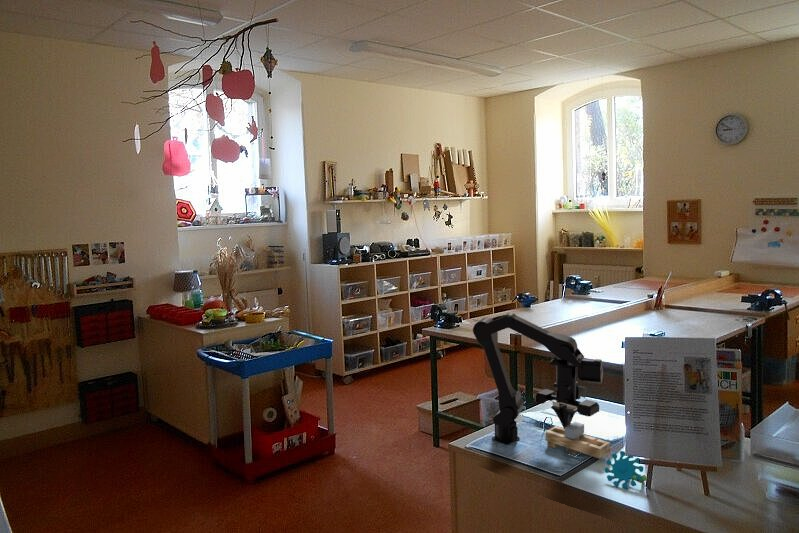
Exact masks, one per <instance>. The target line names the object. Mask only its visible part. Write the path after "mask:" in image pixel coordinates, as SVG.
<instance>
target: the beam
mask: <svg viewBox="0 0 799 533" xmlns="http://www.w3.org/2000/svg"><path fill="white" fill-rule="evenodd" d="M544 440H545V441H546V442H547V444H546V445H547V447H550V448H554V449H556V448H558V447H559V446H562V447H564V448H566V455H568V454H570V455H573V456H576V455H578V454H580V453H582V454H585V455H588V456H591V457H594V458H597V459H601V458H603V457H605V456H606V455H607V454H609V453H610V452H611V442H610V441H606V440H603V439H600V438H598V437H594V436H590V435H587V434H585V433H584V434H582V435H580V440H578V439H571V438H568V437H565V429H564V428H563V426H559V425H555V426H552V427H551V428H550V429H548V430H546V431H545V438H544ZM570 455H569V456H570ZM580 455H581V454H580ZM573 456H572V457H573Z"/></svg>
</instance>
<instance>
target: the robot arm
mask: <svg viewBox="0 0 799 533" xmlns="http://www.w3.org/2000/svg"><path fill="white" fill-rule="evenodd" d="M505 329H510V330H512V331H515V332H516V333H518V334H520V335H522V336H524V337H526V338H529V339H530V340H532V341H534V342H536V343H538V344H540V345H543V347H545V348H546V349H547V350H548V351H549V352H550V353H551V354H552V355H553V356H554V357H553V358H552V359H551V360H550V361H549V366H555V368H556V370H555V372H556V375H555V377H556V381H555V382H554V383H553V387H554V388H556V391H555V390H551V389H547V388H544V389H542V390H539V391H538V392H536V393H535V396H534V401H535V403H538V404H542V405H543V404H545V403H546V402H547V401H549V402H551V403H552V406H551V407H550V408H551V410H553V411H554V413H555V414H556V416H557V417H558V420H559V421H560V423H561V425H562V426H561V427H562V428H564V429H565V427H567V426H568V425H570V424H572V420H573V418H574V416H575V414H576V413H578V414H579V415H581V416H585V417H592V416H594V415H596V414H597V413H598V412H600V405H599V403H598V402H597V401H594V400H591V399H590V400H589V399H585V398H586V397H587V396H586V395H587V391H588V388H587V387H585V386H581V385H580V383H579V381H577V378H578V379H579V380H580V381H581V382H583V383H595V384H602V383H603V379H604V368H603V363H602V359H600V358H599V359H598V358H597V359H591V358H585V355H584V354H583V353H582V352H581V350H580V349H579V347H578V343H577V340H576V339H575V338H573V337H572V336H569V335H566V334H562V333H557V332H552V331H549V330H547V329H545V328H542V327H541V326H538V325H537V324H534V323H532V322H531V321H528V320H526V319H524V318H522V317H521V316H518V315H516V314H515V313H513V312H507V313H505V314H502V315H498V316H495V317H492V318H491V317H489V316H486V317H483V318H481V319H480V320H478V321H477V322H475V324H474V325H473V328H472V333H473V335H474V337H475V338H476V341H477V343H478V344H479V345H480V346H481V347H482V349H483V350H484V353H485V356H486V359H487V362H488V365H489V368H490V371H491V374H492V377H493V379H494V383H495V386H496V389H497V392H498V410H497V412H496V413H495V415H494V416H493V417H492V421H493V423H494V424H493V425H494V436H492V437H491V440H493V441H496V442H498V443H500V444H504V445H507V446H508V445H511V444H513V443H514V442H517V441H518V440H520V439H521V438H520V436H518V434H519V432H518V430H519V428H518V426H517V421H516V419H517V418H518V416H519V415H520V413H521V412H522V411H523V407H524V403H525V400H524V399H523V397H522V393H521V390H519V389H518V390H517V391H516V390H515V389H514V387H513V386H512V382H511V380H510V377H509V374H508V370H507V369H506V368H507V367H506V365H505V361H504V359H503V356H502V353H501V350H500V347H499V344H498V343H499V342H498V341H499V338H498V337H499V334H498V332H501V331H503V330H505ZM581 397H582V398H584V399H585V400H583V401H582V402H581V401H579V400H580V399H581Z"/></svg>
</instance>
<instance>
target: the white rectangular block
mask: <svg viewBox="0 0 799 533" xmlns="http://www.w3.org/2000/svg"><path fill="white" fill-rule="evenodd" d="M582 434H584V435H585V423H581V422H578V421H573V422H571V423H570V425H568V426H567V427H565V437H568V438H571V439H578V440H580V435H582Z"/></svg>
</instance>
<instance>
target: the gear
mask: <svg viewBox="0 0 799 533" xmlns="http://www.w3.org/2000/svg"><path fill="white" fill-rule="evenodd" d="M625 456H626V451H623V450H620V451H619V458H618V454H617V453H612V454H611V458H613V460H614V463H612V460H611V459H610V458H608V459H607V460H605V464H606V465H608V466H610V467H611V468H612V469H609V467H608V466H605V467H604V472H605V473H606V474H608V475H606V480H608V482H612V480H614V479H617V480H614V481H613V482H612V484H613V486H614V487H616V488H618V487H619V486H620V483H621V482H623V481H624V482H623V483H622V484H621V487H622V488H623V489H626V490H627V489H628V482H629V481H630V480H631V481H630V486H631V487H636V486H637V482H638V483H639V484H642V485H644V486H645V485H646V484H645V483H646V482H647V481H648V477H647V475H645V474H640V473H637V472H636V470H638V471H639V472H641V473H643V472H644V469H645V468H644V466H643V465H640V464H641V463H639V459H640V458H639V457H636V458H635V456H634V457H633V456H628V455H627V456H626V457H625ZM624 457H625V458H624ZM617 458H618V459H617ZM633 458H635V459H633ZM630 459H633V460H630ZM635 463H636V464H638V465H634V464H635ZM609 473H611V474H613V476H612V475H610V474H609Z"/></svg>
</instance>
